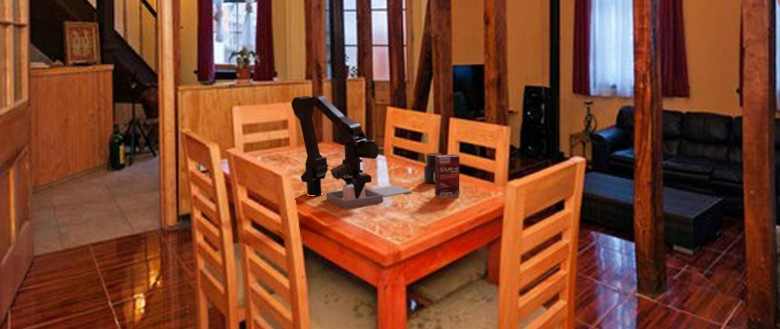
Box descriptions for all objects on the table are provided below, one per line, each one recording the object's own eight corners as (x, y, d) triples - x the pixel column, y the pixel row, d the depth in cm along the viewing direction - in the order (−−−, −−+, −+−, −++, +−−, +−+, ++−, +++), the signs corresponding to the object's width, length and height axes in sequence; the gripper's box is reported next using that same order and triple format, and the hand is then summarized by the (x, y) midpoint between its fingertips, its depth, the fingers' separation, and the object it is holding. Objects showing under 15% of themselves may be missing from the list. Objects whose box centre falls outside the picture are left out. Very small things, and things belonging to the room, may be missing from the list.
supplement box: (439, 198, 210) (438, 158, 207) (434, 195, 214) (434, 155, 211) (460, 196, 212) (460, 156, 209) (455, 193, 217) (455, 153, 213)
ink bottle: (439, 185, 230) (438, 157, 228) (420, 183, 235) (419, 155, 232) (448, 180, 238) (448, 153, 236) (430, 178, 243) (430, 151, 240)
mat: (370, 191, 224) (370, 189, 224) (396, 187, 229) (395, 185, 229) (384, 197, 213) (384, 195, 213) (411, 193, 219) (411, 191, 219)
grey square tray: (326, 200, 212) (326, 192, 212) (363, 194, 220) (363, 186, 219) (344, 210, 199) (343, 202, 198) (383, 203, 206) (382, 195, 206)
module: (343, 200, 210) (342, 185, 208) (360, 197, 213) (359, 182, 212) (348, 203, 206) (347, 187, 204) (365, 200, 209) (364, 185, 208)
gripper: (322, 155, 210) (324, 195, 213) (343, 163, 194) (345, 206, 197) (349, 152, 215) (351, 190, 219) (371, 159, 199) (373, 201, 203)
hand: (354, 197), depth 209 cm, fingers closed on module, 4 cm apart
